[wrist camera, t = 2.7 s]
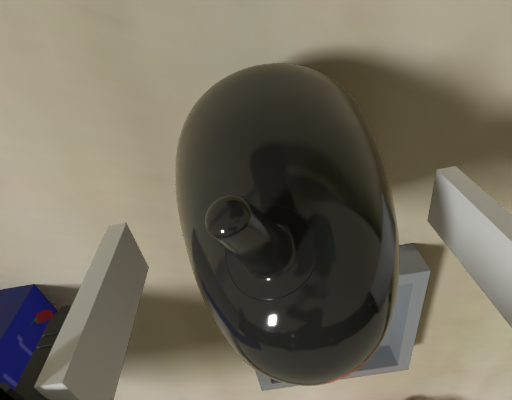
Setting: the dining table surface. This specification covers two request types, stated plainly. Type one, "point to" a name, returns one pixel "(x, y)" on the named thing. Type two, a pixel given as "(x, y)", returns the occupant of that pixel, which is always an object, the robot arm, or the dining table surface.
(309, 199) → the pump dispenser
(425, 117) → the dining table surface
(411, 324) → the tray
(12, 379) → the cereal box
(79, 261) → the dining table surface
